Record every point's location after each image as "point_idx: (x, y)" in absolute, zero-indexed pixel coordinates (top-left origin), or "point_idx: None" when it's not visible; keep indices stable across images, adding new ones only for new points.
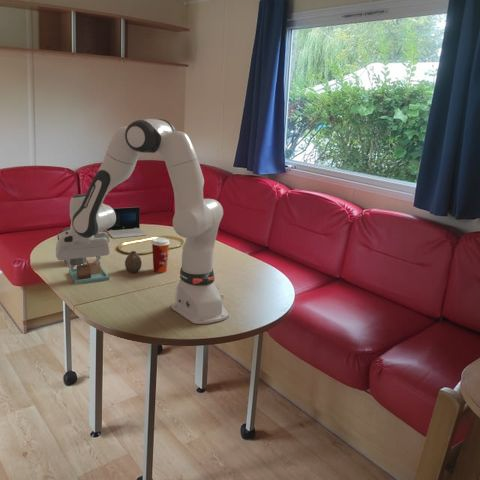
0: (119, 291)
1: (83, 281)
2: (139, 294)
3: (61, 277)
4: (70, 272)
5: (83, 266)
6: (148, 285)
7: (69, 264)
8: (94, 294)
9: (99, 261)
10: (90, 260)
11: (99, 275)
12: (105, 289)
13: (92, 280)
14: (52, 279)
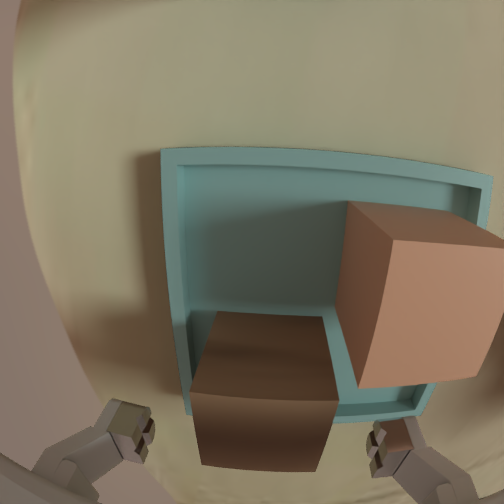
0: (369, 488)
1: None
2: (408, 500)
3: (103, 238)
4: (165, 227)
5: (258, 441)
6: (484, 454)
7: (101, 464)
8: (262, 490)
9: (482, 358)
10: (427, 296)
11: None
12: (328, 474)
13: None
14: (52, 253)
